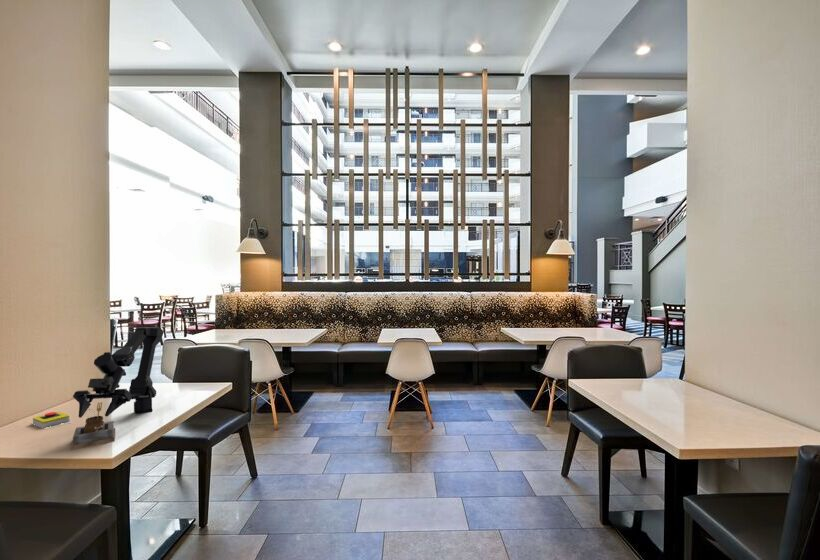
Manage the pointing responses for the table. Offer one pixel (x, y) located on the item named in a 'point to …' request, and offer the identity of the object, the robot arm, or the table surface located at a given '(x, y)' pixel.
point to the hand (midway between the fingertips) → (92, 416)
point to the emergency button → (51, 419)
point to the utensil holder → (94, 422)
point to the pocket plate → (93, 436)
